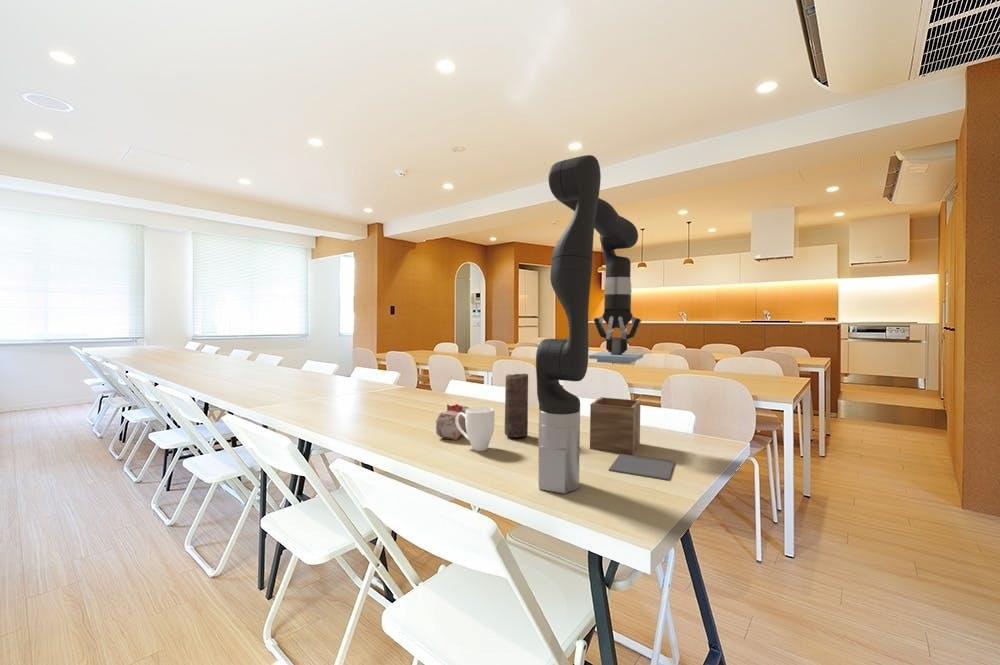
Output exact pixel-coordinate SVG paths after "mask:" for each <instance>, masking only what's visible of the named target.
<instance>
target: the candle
mask: <svg viewBox="0 0 1000 665" xmlns="http://www.w3.org/2000/svg"><path fill="white" fill-rule="evenodd" d="M504 392H505V395H504V396H505V398H504V400H505V401H504V402H505V404H504V435H505V436H507V437H508V438H522V437H526V436H528V430H529V424H528V423H529V422H528V420H529V415H528V414H529V408H528V407H529V374H528V373H515V374H507V375H506V376H505V391H504Z"/></svg>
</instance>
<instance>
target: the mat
mask: <svg viewBox="0 0 1000 665" xmlns="http://www.w3.org/2000/svg"><path fill="white" fill-rule="evenodd" d="M674 465H675V460H668V459H663V458H656V457H649V456H641V455H640V456H639V455H635V454H633V455H631V454H624V453H618V456H617V457H616V459H615V460H614V461H613V463H612V464H611V466H610V467H608V471H610V472H616V473H621V474H626V475H627V474H628V475H633V476H639V477H645V478H650V479H657V480H664V481H669V480H670V478H671V475H672V472H673V469H674Z"/></svg>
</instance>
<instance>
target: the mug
mask: <svg viewBox="0 0 1000 665" xmlns="http://www.w3.org/2000/svg"><path fill="white" fill-rule="evenodd" d="M459 415H462V416H463V417H464V418H465V425H466V433H465V432H464V431H463V430H462V428H461V427H460V425H459V421H458V418H459ZM455 423H456V426H457V428H458V430H459V431H460V432H461V433H462V434H463V435H462V436H464V437H465V439H467V441H469V444H470V445H471V449H472V450H473V451H475V452H483V451H486V450H488V448H489V445H490V443H491V440H492V437H493V434H494V431H495V408H493V407H489V406H488V407H487V406H472V407H468V409H466V414H464V413H462V412H460V413H458V414H457V416H456V418H455Z"/></svg>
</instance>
